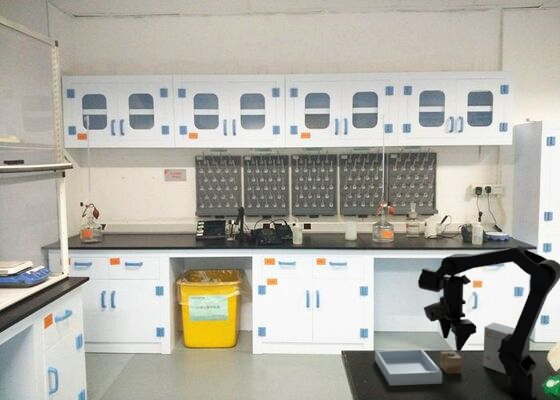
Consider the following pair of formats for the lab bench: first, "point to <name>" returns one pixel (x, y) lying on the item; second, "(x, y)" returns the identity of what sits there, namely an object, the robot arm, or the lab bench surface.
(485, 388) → the lab bench surface
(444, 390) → the lab bench surface
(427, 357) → the sorting tray
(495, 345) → the small box
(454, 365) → the walnut block
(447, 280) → the robot arm
